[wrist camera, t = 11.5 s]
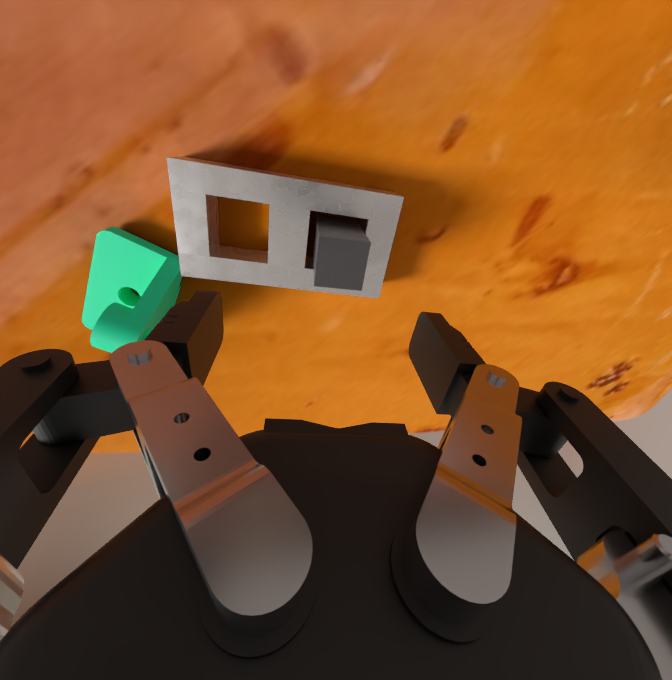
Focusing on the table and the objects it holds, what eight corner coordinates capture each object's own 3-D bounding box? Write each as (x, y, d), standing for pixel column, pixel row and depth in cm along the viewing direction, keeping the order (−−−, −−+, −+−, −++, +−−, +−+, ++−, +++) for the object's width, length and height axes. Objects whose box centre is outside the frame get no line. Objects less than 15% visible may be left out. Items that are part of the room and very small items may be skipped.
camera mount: (113, 220, 30) (34, 249, 21) (191, 257, 32) (148, 296, 24) (94, 314, 35) (24, 368, 26) (163, 340, 38) (119, 397, 29)
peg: (316, 212, 31) (319, 236, 22) (354, 217, 31) (371, 242, 23) (312, 251, 33) (313, 286, 25) (348, 255, 33) (361, 290, 25)
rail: (184, 156, 27) (166, 157, 24) (393, 191, 30) (404, 197, 27) (194, 262, 33) (181, 276, 29) (372, 284, 36) (378, 298, 32)
